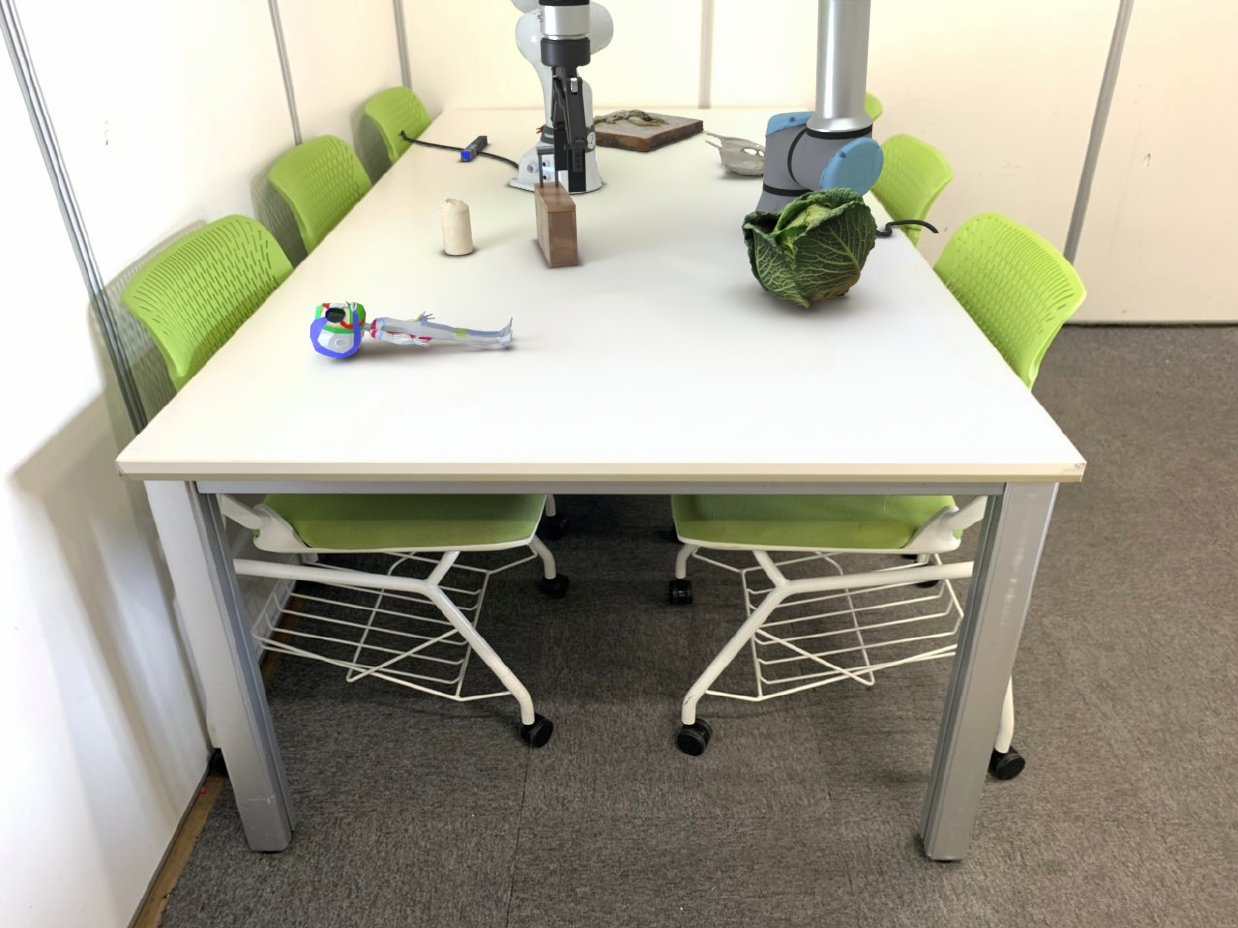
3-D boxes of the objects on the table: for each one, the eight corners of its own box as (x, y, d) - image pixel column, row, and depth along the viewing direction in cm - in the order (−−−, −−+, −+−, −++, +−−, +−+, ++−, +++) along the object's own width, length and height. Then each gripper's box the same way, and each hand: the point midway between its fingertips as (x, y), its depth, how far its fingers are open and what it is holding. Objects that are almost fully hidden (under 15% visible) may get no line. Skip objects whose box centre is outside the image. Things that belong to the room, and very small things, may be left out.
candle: (478, 247, 177) (472, 197, 172) (465, 256, 173) (459, 205, 168) (453, 245, 179) (447, 194, 174) (439, 254, 174) (433, 202, 169)
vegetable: (769, 324, 161) (717, 226, 153) (855, 264, 162) (809, 164, 154) (822, 342, 142) (766, 232, 135) (919, 274, 144) (869, 162, 136)
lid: (533, 188, 176) (530, 143, 171) (560, 186, 177) (558, 141, 172) (547, 212, 162) (544, 164, 158) (576, 210, 163) (574, 162, 159)
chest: (537, 240, 181) (534, 189, 175) (563, 238, 182) (560, 187, 176) (550, 267, 168) (547, 213, 162) (578, 265, 169) (576, 210, 163)
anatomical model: (707, 129, 226) (808, 127, 222) (707, 166, 231) (805, 165, 227) (703, 143, 213) (809, 141, 210) (703, 182, 218) (807, 181, 215)
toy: (513, 328, 132) (301, 311, 127) (509, 379, 136) (304, 364, 132) (513, 302, 141) (314, 285, 136) (509, 351, 145) (317, 336, 140)
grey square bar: (487, 135, 252) (468, 152, 235) (487, 143, 253) (469, 161, 236) (479, 135, 252) (460, 152, 235) (480, 143, 253) (461, 161, 236)
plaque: (647, 125, 237) (559, 112, 252) (647, 153, 241) (560, 139, 256) (706, 107, 258) (622, 97, 273) (705, 133, 262) (622, 121, 277)
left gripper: (684, -88, 173) (682, -7, 180) (598, -86, 162) (600, 0, 170) (706, -88, 168) (703, -5, 176) (619, -85, 158) (620, 2, 165)
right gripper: (529, 27, 143) (536, 163, 155) (552, 48, 123) (559, 203, 134) (575, 26, 145) (579, 161, 156) (606, 46, 124) (608, 200, 135)
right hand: (569, 180), depth 145 cm, fingers open, 13 cm apart
